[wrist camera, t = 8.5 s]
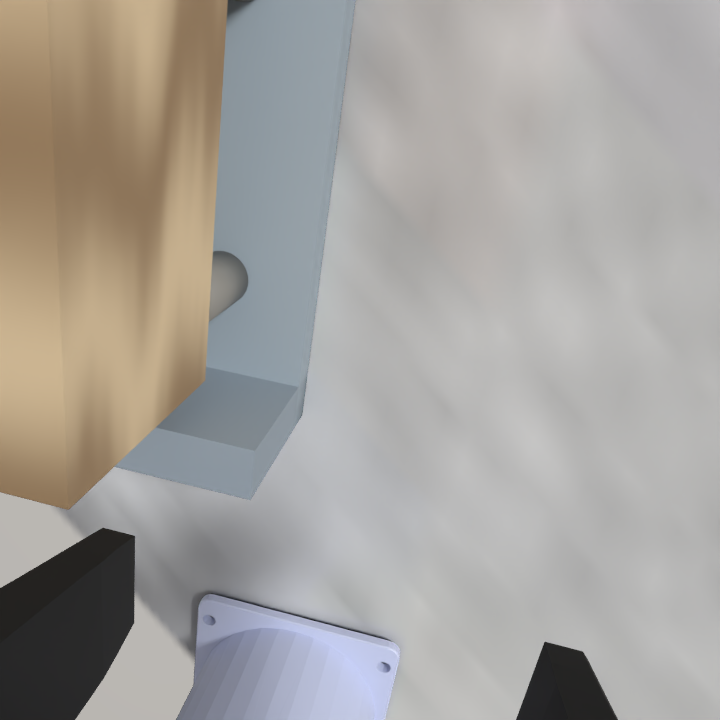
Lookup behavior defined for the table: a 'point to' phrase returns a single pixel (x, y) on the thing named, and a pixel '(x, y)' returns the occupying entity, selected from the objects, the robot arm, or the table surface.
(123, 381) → the oak plank
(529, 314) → the table surface
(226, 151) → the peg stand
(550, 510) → the table surface
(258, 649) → the robot arm
